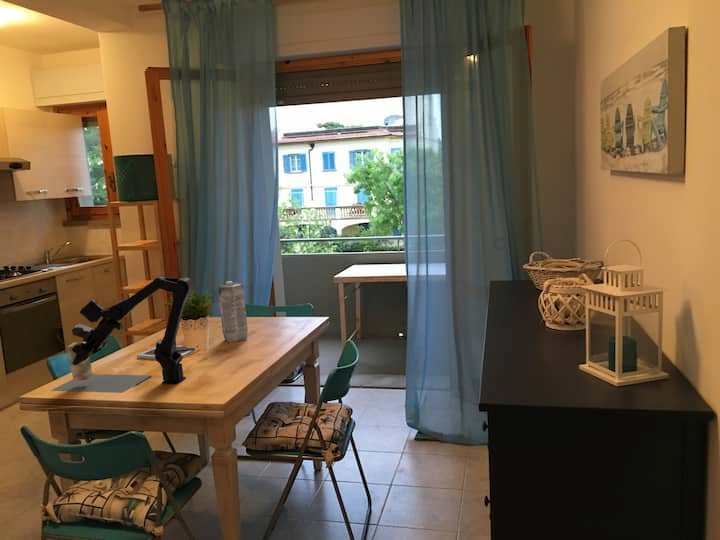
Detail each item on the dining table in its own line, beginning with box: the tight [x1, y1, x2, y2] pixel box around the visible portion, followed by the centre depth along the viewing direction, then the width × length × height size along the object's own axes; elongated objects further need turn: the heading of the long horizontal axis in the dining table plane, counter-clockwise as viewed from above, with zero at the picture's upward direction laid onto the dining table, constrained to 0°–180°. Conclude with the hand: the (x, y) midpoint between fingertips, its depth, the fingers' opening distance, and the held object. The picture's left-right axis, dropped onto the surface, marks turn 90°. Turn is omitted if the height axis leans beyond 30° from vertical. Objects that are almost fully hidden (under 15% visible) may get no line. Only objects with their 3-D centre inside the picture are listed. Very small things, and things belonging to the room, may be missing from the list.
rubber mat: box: [50, 373, 153, 394], centre depth 223 cm, size 30×18×1 cm, turn 76°
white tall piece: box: [67, 341, 94, 381], centre depth 219 cm, size 5×5×13 cm
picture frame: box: [136, 345, 195, 360], centre depth 257 cm, size 16×3×21 cm
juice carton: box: [217, 280, 248, 343], centre depth 272 cm, size 9×10×27 cm
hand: (76, 362), depth 219 cm, fingers closed on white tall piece, 5 cm apart
